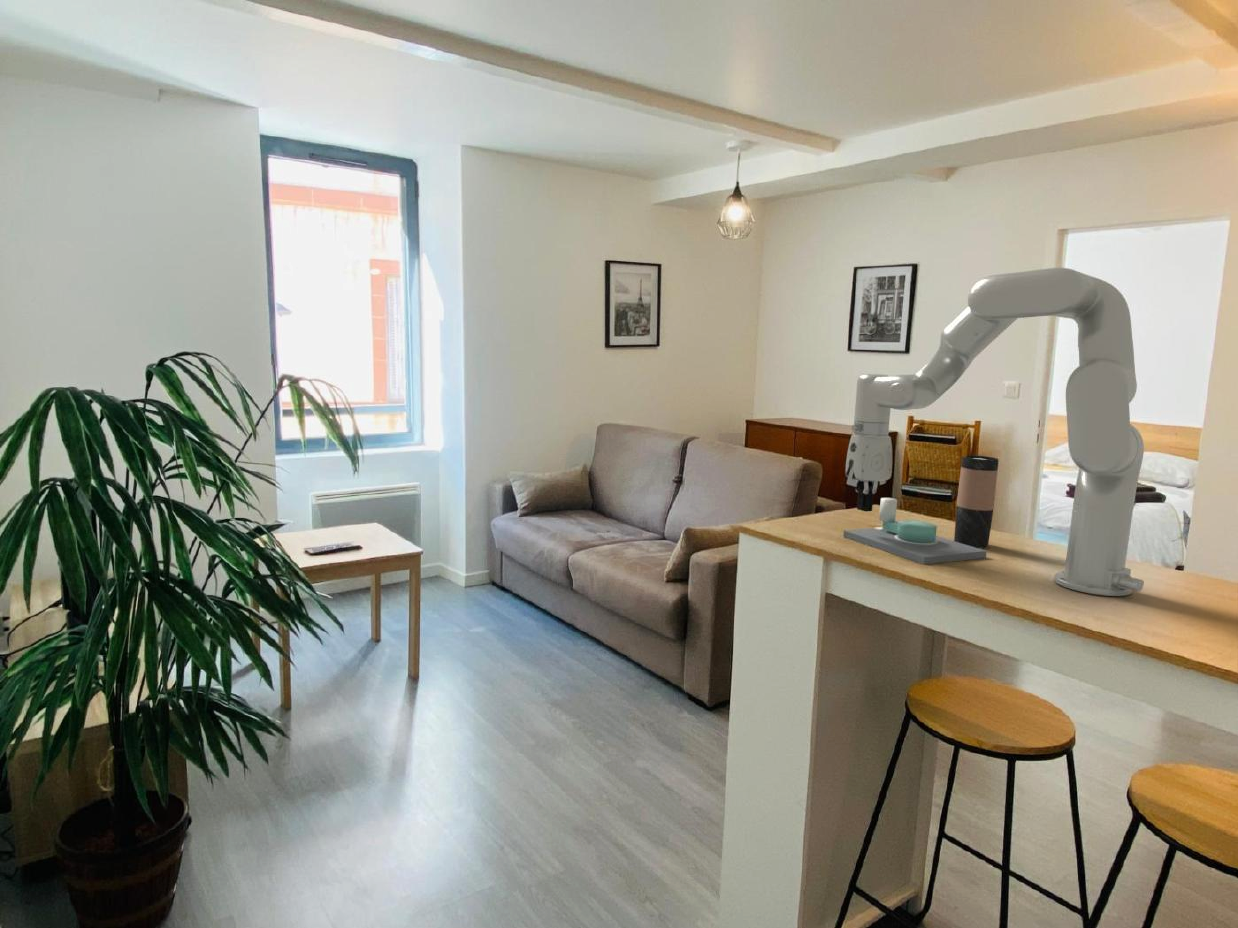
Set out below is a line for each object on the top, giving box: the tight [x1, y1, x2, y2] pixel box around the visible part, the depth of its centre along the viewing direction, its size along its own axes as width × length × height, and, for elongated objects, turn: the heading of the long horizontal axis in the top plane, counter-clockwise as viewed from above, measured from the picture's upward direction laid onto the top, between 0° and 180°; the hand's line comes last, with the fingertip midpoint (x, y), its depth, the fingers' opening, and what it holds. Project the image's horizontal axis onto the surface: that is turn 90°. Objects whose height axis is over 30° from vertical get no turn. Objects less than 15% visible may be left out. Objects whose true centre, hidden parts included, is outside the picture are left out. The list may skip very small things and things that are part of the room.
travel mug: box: [953, 454, 1000, 549], centre depth 176 cm, size 8×8×20 cm
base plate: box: [843, 526, 988, 565], centre depth 173 cm, size 24×18×2 cm
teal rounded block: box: [878, 497, 938, 542], centre depth 175 cm, size 15×8×7 cm, turn 26°
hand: (864, 510), depth 177 cm, fingers closed
